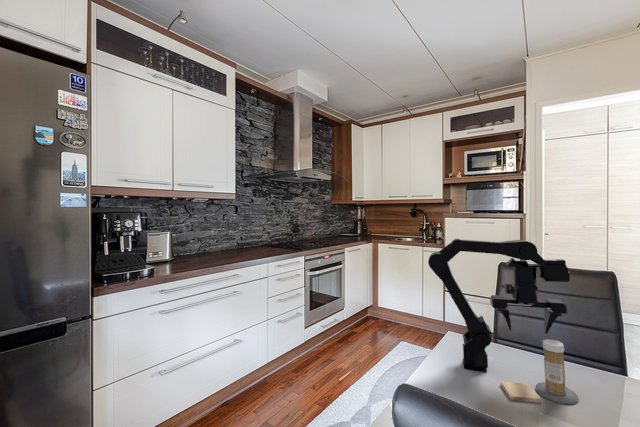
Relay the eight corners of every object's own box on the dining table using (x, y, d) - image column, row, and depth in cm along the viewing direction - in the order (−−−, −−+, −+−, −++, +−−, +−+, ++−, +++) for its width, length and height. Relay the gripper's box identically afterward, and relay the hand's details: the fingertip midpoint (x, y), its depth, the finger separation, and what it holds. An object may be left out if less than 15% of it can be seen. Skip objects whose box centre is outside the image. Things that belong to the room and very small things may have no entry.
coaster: (541, 400, 77) (541, 397, 77) (531, 381, 85) (531, 379, 85) (584, 407, 73) (584, 405, 73) (570, 387, 82) (570, 385, 82)
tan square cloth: (510, 399, 77) (510, 396, 77) (500, 384, 84) (500, 381, 84) (540, 402, 76) (540, 398, 76) (528, 387, 83) (527, 383, 83)
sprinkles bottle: (568, 392, 79) (566, 342, 79) (562, 398, 76) (560, 347, 76) (548, 384, 82) (546, 337, 83) (542, 390, 80) (539, 341, 80)
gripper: (553, 277, 93) (555, 325, 93) (486, 274, 100) (488, 319, 100) (566, 285, 83) (569, 339, 83) (491, 281, 90) (494, 331, 90)
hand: (527, 331), depth 89 cm, fingers open, 9 cm apart
